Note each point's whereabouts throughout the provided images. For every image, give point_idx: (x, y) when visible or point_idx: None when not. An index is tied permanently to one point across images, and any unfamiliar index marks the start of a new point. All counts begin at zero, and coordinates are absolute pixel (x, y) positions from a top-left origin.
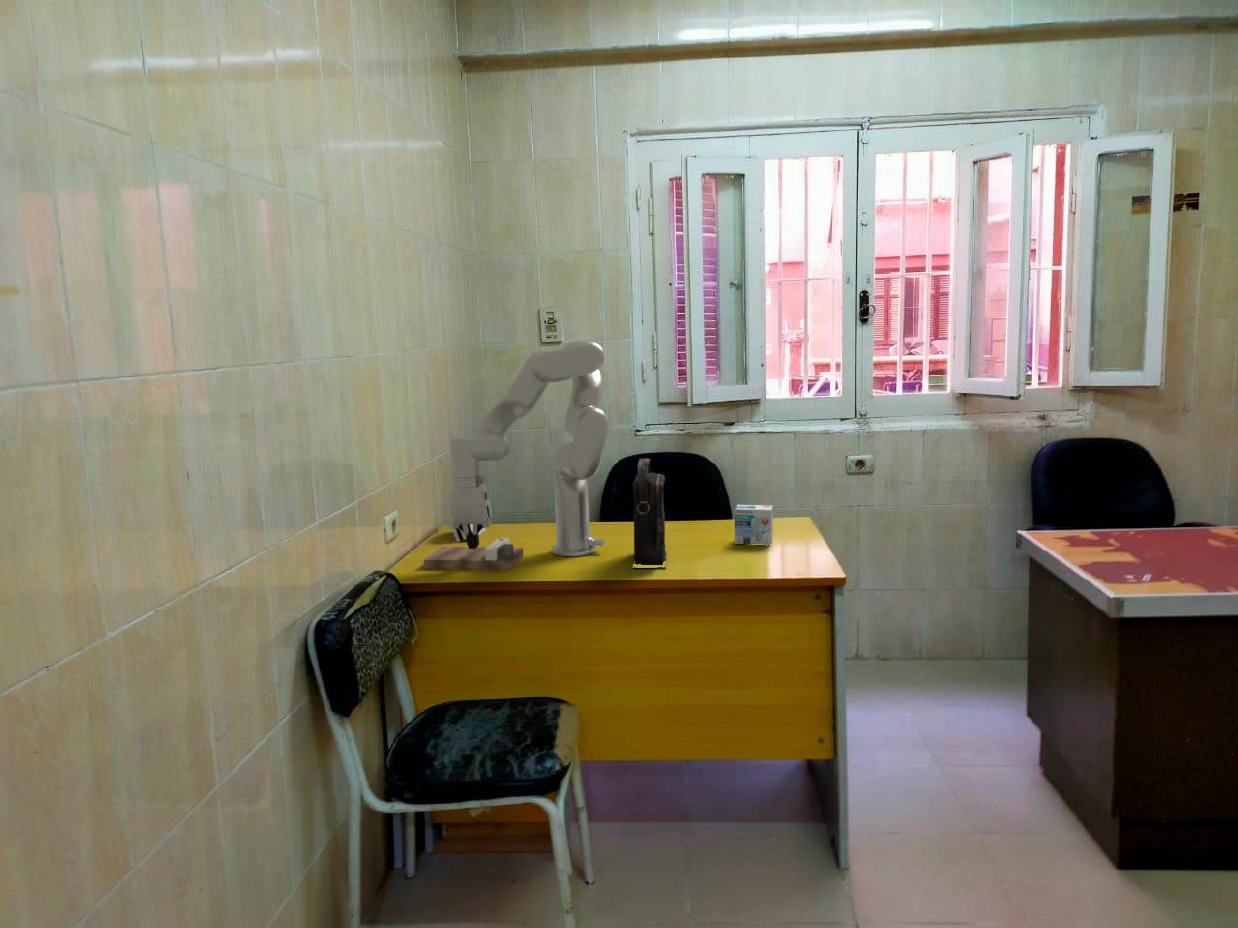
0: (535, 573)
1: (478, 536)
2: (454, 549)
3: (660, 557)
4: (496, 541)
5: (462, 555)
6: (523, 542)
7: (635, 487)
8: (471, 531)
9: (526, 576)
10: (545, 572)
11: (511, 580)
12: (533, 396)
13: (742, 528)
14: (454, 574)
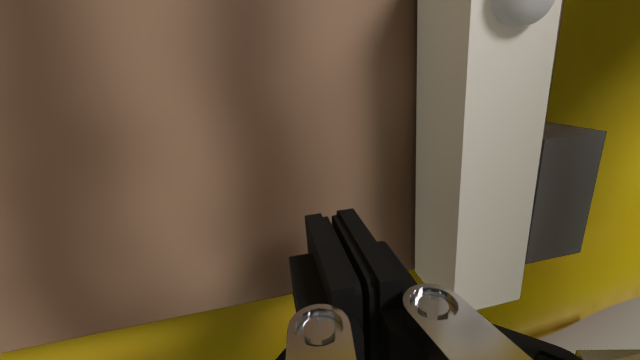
0: (594, 234)
1: (412, 284)
2: (7, 21)
3: None
4: (480, 78)
5: (212, 196)
6: None
7: None
8: (363, 352)
9: (565, 276)
10: (627, 213)
11: (521, 331)
12: None
13: None
14: (270, 338)
